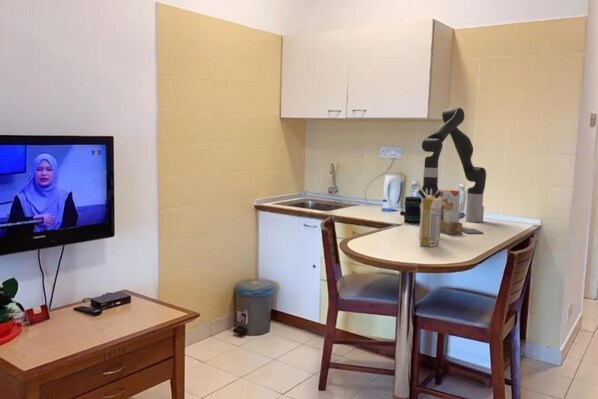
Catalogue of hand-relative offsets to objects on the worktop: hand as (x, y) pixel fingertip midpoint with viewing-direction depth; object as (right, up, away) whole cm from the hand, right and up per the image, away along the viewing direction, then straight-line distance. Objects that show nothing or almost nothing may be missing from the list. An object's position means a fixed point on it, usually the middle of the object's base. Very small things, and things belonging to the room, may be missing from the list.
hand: (429, 208), depth 282 cm
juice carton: (-8, -18, -32) cm, 37 cm away
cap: (+12, -8, -1) cm, 14 cm away
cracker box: (+15, -11, +23) cm, 30 cm away
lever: (+3, -6, +7) cm, 10 cm away
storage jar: (-3, -9, +30) cm, 32 cm away
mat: (+24, -13, +3) cm, 27 cm away
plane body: (+10, -13, +5) cm, 17 cm away
